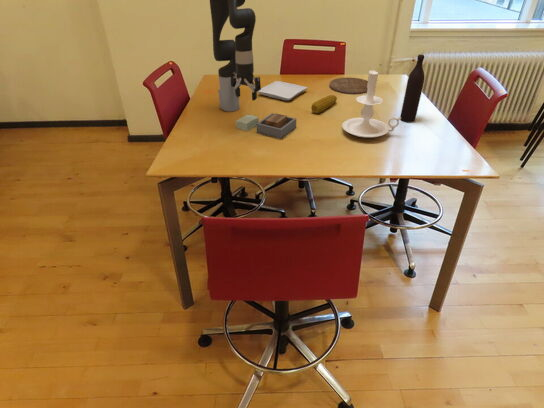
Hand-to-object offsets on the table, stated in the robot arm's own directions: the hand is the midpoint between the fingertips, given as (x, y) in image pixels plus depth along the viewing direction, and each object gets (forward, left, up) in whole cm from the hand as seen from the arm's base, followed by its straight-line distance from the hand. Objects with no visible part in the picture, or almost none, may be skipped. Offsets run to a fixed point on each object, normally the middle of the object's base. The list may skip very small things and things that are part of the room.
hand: (246, 98), depth 171 cm
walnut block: (+14, +3, -13) cm, 19 cm away
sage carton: (0, 0, -14) cm, 14 cm away
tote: (+14, +3, -14) cm, 20 cm away
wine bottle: (+63, +45, -14) cm, 79 cm away
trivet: (+22, +76, -14) cm, 81 cm away
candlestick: (+52, +21, -14) cm, 58 cm away
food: (+22, +38, -14) cm, 46 cm away
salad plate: (-7, +46, -14) cm, 49 cm away
